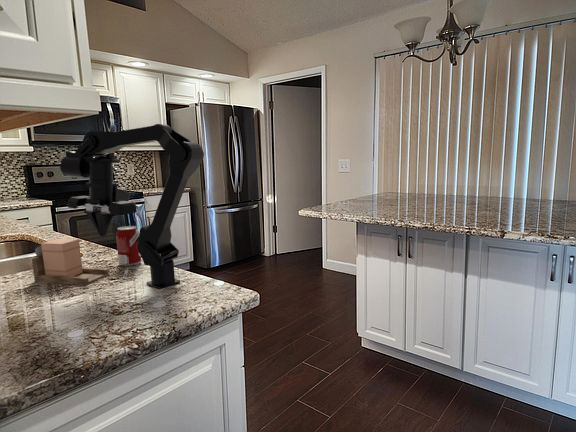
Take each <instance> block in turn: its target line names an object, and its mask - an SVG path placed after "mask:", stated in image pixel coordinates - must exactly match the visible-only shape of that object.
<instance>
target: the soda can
mask: <svg viewBox="0 0 576 432" xmlns="http://www.w3.org/2000/svg"><path fill="white" fill-rule="evenodd" d="M116 229H117V230H116V233H115V238H116V241H115V242H116V250H117V259H118V260H117V261H118V265H120V266H122V267H133V266H137V265H139V264H140V263H141V262H142V257H141V255H140V253H139V251H138V250H137V243H138V241H137V242H136V240H137V238H138V237H139V233H140V230H138V229H137V225H126V226H125V225H124V226H120V227H117V228H116Z"/></svg>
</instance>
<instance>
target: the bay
mask: <svg viewBox="0 0 576 432" xmlns="http://www.w3.org/2000/svg"><path fill="white" fill-rule="evenodd" d="M34 252H35V255H36V256H37V257H34V258H31V262H32V271H33V276H34V277H33V278H34V282H35V283H48V284H60V285H61V284H63V285H64V284H65V285H76V286H77V285H78V286H79V285H80V286H81V285H82V286H88V285H89V284H92V283H94V282H96V281H98V280H101V279H103V278H105V277H107V276H109V275H110V271H109V268H102V267H101V268H95V267H82V270H83V273H80V274H78V275H75V276H73V277H70V276H54V275H45V270H44V269H45V268H44V261H43V253H42V245H40V246H37V247H36V248H35V250H34Z"/></svg>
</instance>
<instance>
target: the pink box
mask: <svg viewBox="0 0 576 432" xmlns="http://www.w3.org/2000/svg"><path fill="white" fill-rule="evenodd" d="M40 246H42V253H43V261H44V268H45V269H44V270H45V275H54V276H70V277H73V276H75V275H78V274H80V273H83V270H82V268H83V263H82V253H81V245H80V239H79V238H56V239H52V240H48V241H44V242H41V243H40Z"/></svg>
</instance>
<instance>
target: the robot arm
mask: <svg viewBox="0 0 576 432" xmlns="http://www.w3.org/2000/svg"><path fill="white" fill-rule="evenodd" d="M157 142H158V144H159V145H160V147H161V148H162V150H163V151H164V152H165V153H167V154H168V155H169V157H168V162H167V163H168V169H169V175H168V177H167V180H166V182H165V186H164V188H163V191H162V194H161V197H160V200H159V202H158V205H157V208H156V211H155V213H154V216H153V218H152V222H151V223H150V224H148V225H144V226H142V227H140V230H139V237H138V238H137V240H136V242H137V241H138V243H137V250H138V251H139V253H140V255H141V261H142V262H143V264H144V266H149V267H150V268H149V270H150V271H149V272H150V279H151V280H149V281H147V282H146V285H148V286H149V287H154V288H155V289H164V288H166V287H169V286H172V285H176V284H179V283H181V280H180V279H178V278H176V274H175V261H174V259H177V258H178V256H179V252H180V250H179V249H178V248H177V247H176V245H174V244H173V243H172V242H171V240H172V231H171V226H172V223H173V221H174V218H175V215H176V213H177V210H178V208H179V205H180V203H181V201H182V200H181V199H182V197H183V194H184V192H185V189H186V187H187V184H188V181H189V179H190V178H191V176H192V175H193V174H194V173H195V172H196V171H197V170H198V168H199V166H200V165H201V163H202V162H203V160H204V156H205V153H204V152H205V151H203V148H202V146H201V145H200V144H199V143H196V142H194V141H193V142H192V141H191V140H190V139H189V138H187V137H186V136H184V135H182V134H181V133H179V132H177V131H176V130H175V129H173V128H172V127H171V126H170V125H168V124H161V123H156V124H154V125H150V126H149V125H148V126H143V127H138V128H137V127H136V128H132V129H130V128H129V129H124V130H119V131H118V130H117V131H105V130H88V131H86V132H85V133H84V136H83V140H82V141H81V142H80V144H79V146H78V148H77V149H76V151H74V150H73V151H65V156H64V157H63V158H62V159H61V160H60V163H59V168H60V171H61V173H62V174H63V175H64V176H65V177H72V178H85V179H86V178H88V179H89V180H88V182H85V187H86V188H89V195H78V196H71V197H69V199H68V200H67V208H69V209H78V208H79V207H85V210H83V213H84V214H86V216H87V217H88V219H89V220H90V221H91V223H92V224H93V226H94V228H95V230H96V231H97V233H98V235H99V236H100V237H106V235H107V232H108V230H109V228H110V227H109V226H110V224H111V222H112V220H113V218H114V217H115V216H123V215H124V216H125V215H128V214H129V215H130V214H134V213H137V204H136V203H135V202H134V201H130V197H131V192H128V191H126V190H124V189H120V188H118V183H117V182H114V177H113V176H114V174H113V173H114V171H113V164H119V163H120V162H121V160H120V159H119V158H117V157H116V155H115V154H114V153H115V152H117V151H120V150H122V149H123V148H125V147H129V146H135V145H142V144H149V143H157Z"/></svg>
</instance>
